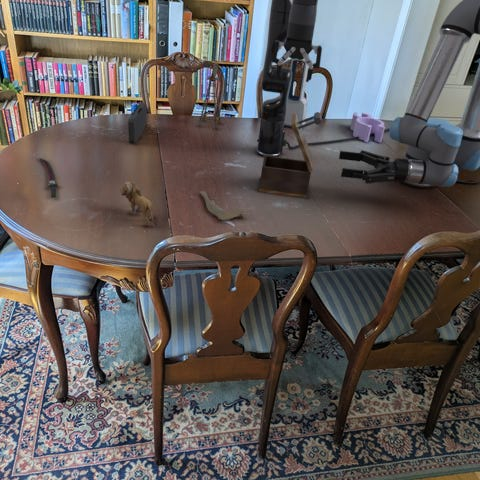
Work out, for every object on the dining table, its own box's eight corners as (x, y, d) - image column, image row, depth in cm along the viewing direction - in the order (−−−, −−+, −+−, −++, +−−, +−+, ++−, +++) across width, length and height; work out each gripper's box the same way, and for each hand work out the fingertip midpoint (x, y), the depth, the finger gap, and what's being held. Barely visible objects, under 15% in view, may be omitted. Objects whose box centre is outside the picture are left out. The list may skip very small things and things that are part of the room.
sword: (61, 197, 141) (61, 193, 140) (50, 198, 139) (50, 194, 139) (49, 160, 164) (48, 156, 163) (39, 160, 163) (39, 157, 162)
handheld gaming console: (140, 124, 200) (139, 101, 194) (146, 125, 200) (146, 101, 194) (127, 143, 180) (126, 118, 175) (135, 144, 180) (134, 119, 175)
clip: (343, 126, 223) (346, 112, 219) (367, 127, 225) (371, 113, 221) (360, 142, 206) (364, 127, 202) (386, 142, 209) (390, 127, 205)
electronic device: (305, 125, 218) (316, 58, 202) (301, 130, 212) (313, 61, 196) (279, 120, 221) (289, 53, 205) (275, 124, 215) (284, 56, 199)
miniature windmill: (216, 129, 203) (221, 57, 187) (197, 126, 204) (200, 54, 188) (221, 123, 211) (226, 53, 194) (203, 120, 212) (206, 50, 195)
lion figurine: (118, 210, 138) (116, 182, 133) (132, 204, 141) (131, 177, 137) (151, 229, 130) (150, 201, 126) (165, 223, 134) (165, 195, 129)
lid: (291, 124, 144) (318, 114, 141) (292, 114, 152) (317, 104, 149) (309, 172, 151) (335, 163, 148) (309, 160, 160) (334, 151, 157)
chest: (259, 191, 157) (262, 166, 152) (261, 178, 166) (264, 155, 161) (306, 197, 156) (310, 173, 151) (306, 184, 165) (310, 161, 160)
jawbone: (230, 228, 136) (231, 222, 135) (181, 203, 146) (181, 197, 145) (250, 215, 142) (250, 210, 140) (201, 192, 152) (201, 187, 151)
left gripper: (276, 20, 130) (269, 79, 139) (327, 26, 129) (316, 85, 138) (277, 16, 136) (270, 74, 145) (326, 22, 135) (316, 79, 144)
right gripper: (409, 199, 143) (340, 191, 145) (397, 164, 164) (336, 158, 165) (416, 177, 139) (345, 169, 141) (402, 144, 160) (340, 138, 161)
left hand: (293, 79), depth 141 cm, fingers open, 8 cm apart
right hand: (340, 163), depth 153 cm, fingers open, 13 cm apart
